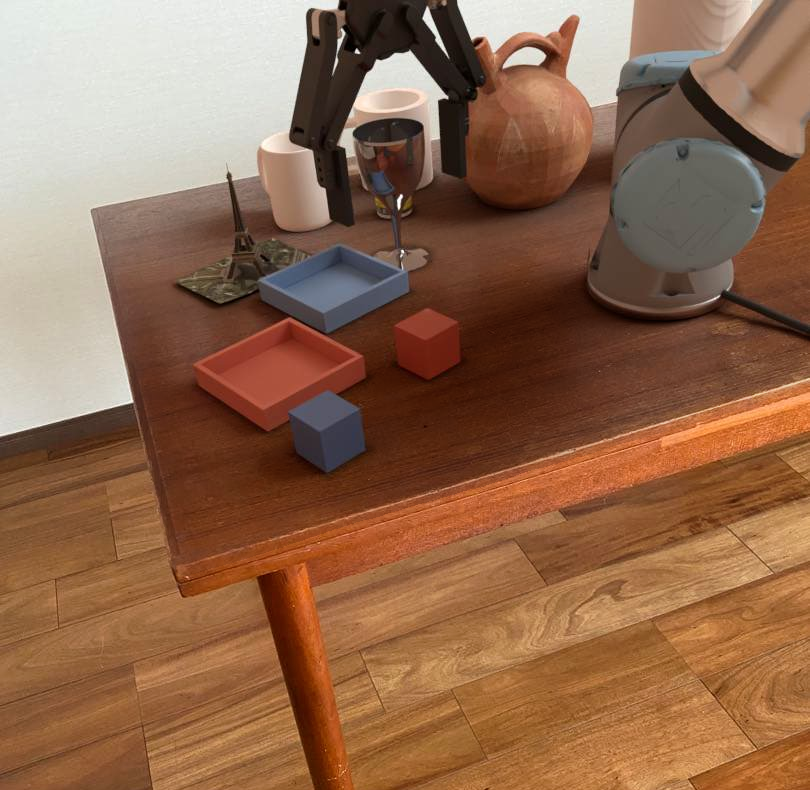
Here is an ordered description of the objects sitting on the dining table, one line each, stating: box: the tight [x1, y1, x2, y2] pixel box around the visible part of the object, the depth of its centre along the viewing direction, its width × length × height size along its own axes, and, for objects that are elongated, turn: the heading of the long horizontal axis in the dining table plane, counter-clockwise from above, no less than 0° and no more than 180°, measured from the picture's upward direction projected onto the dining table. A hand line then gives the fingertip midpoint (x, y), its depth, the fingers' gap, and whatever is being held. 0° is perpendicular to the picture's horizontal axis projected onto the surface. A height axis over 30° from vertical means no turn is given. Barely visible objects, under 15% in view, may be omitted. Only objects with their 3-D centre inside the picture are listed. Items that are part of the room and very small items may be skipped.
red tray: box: [192, 317, 367, 433], centre depth 88 cm, size 12×12×2 cm
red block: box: [393, 307, 461, 381], centre depth 88 cm, size 4×4×4 cm
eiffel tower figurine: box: [174, 162, 311, 305], centre depth 103 cm, size 15×10×13 cm
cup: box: [256, 130, 333, 233], centre depth 116 cm, size 8×12×10 cm
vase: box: [628, 0, 753, 60], centre depth 112 cm, size 14×14×32 cm
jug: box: [463, 14, 595, 211], centre depth 113 cm, size 18×18×20 cm
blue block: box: [288, 390, 367, 474], centre depth 78 cm, size 4×4×4 cm
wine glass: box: [351, 118, 430, 272], centre depth 102 cm, size 8×8×15 cm
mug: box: [337, 87, 434, 192], centre depth 122 cm, size 14×10×11 cm
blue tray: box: [258, 242, 410, 335], centre depth 101 cm, size 12×12×2 cm
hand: (400, 197), depth 81 cm, fingers open, 13 cm apart
